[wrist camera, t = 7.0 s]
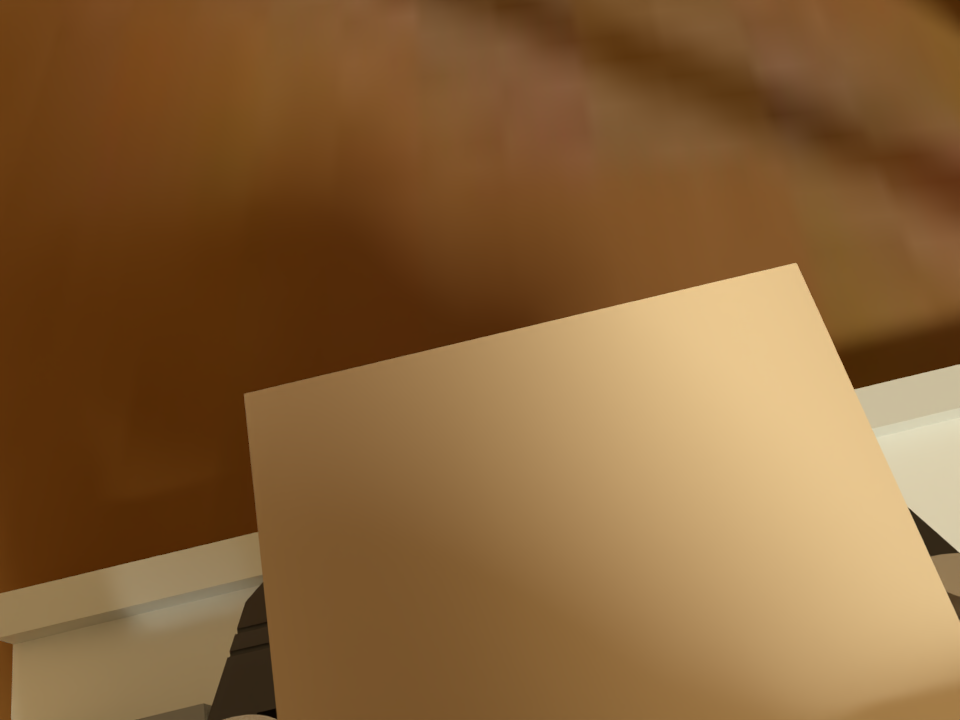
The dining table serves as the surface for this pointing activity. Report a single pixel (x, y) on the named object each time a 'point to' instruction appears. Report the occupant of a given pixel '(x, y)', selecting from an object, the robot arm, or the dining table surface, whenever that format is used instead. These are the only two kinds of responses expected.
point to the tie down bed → (238, 573)
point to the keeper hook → (184, 713)
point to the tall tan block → (599, 527)
